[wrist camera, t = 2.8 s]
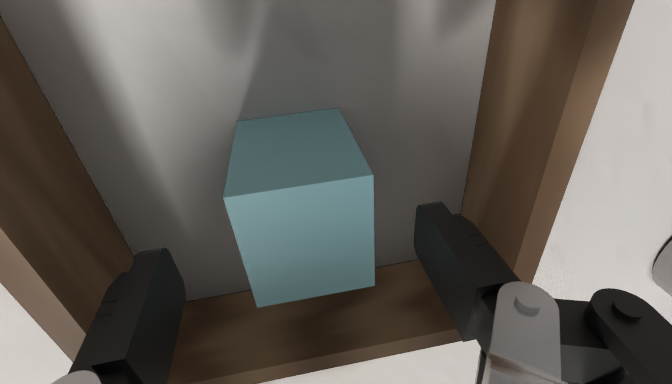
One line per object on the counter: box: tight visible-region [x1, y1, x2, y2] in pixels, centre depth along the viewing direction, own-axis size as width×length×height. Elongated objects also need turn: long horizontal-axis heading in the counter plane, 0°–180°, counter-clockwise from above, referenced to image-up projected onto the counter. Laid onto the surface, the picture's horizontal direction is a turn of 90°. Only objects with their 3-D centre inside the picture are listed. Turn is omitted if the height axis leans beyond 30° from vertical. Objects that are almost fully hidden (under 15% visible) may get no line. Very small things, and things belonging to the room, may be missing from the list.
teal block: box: [223, 108, 375, 308], centre depth 14 cm, size 4×5×6 cm
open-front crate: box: [0, 0, 634, 384], centre depth 15 cm, size 20×17×5 cm
